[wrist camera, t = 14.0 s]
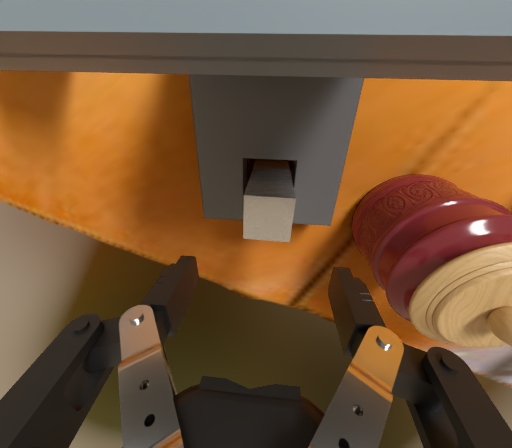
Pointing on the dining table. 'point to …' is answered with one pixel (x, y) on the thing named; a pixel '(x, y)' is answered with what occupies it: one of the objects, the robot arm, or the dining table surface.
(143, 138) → the dining table surface
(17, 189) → the dining table surface
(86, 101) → the dining table surface
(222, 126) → the socket
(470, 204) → the canister
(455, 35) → the coffee dispenser stand
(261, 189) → the peg
